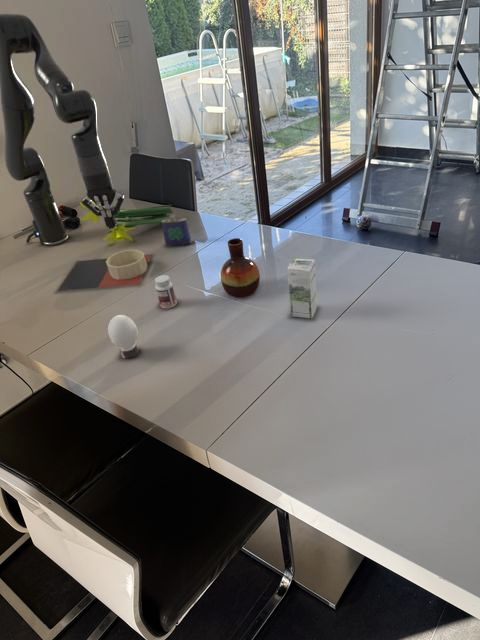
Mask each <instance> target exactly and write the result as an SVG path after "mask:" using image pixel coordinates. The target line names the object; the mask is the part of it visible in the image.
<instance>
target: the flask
mask: <svg viewBox="0 0 480 640" xmlns="http://www.w3.org/2000/svg"><path fill="white" fill-rule="evenodd" d="M170 218H171V219H168V220H167V219H165V220H162V221H161V223H160V225H161V228H162V233H163V237H164V238H163V239H164V242H165V245H166V247H167V248H169V247H183V246H188V245H189V246H190V245H192V242H193V240H192V237H191V231H190V228H189V222H188V219H187V218H186V217H184V218H183V217H182V218H176V214H172V215H170Z"/></svg>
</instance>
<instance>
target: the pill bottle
mask: <svg viewBox="0 0 480 640" xmlns="http://www.w3.org/2000/svg"><path fill="white" fill-rule="evenodd" d="M154 283H155V291H156V295H157V297H158V302H159V305H160V307H161V308H162V309H171V308H173V307H176V305H177V304H178V302H177V297H176V294H175V289H174V286H173V283H172V282H171V279H170V276H169V275H166V274H162V275H159V276H157V277H155V278H154Z"/></svg>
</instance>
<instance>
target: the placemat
mask: <svg viewBox="0 0 480 640" xmlns="http://www.w3.org/2000/svg"><path fill="white" fill-rule="evenodd" d="M144 256H145V259H146V263H147V265H148V263H149V261H150V259H151V257H152V254H144ZM107 259H108V258H99V259H89V260H80V261H79V260H78V261H77V262H76V263H75V264H74V266H73V267H72V269H71V270H70V272H69V273H68V275H66V278H65V279H64V281H63V282H62V284H61V285H60V286H59V288H58V290H57V292H64V291H75V290H77V291H78V290H86V289H87V290H88V289H99V288H110V287H118V286H119V287H120V286H122V287H123V286H133V285H134V286H135V285H139V284H140V282H141V281H142V278H143V276H144V273H143V274H141V275H139V276H137V277H134V278H131V279H125V280H119V279H114V278H113V277H111V275H110V273H109V270H108V267H107V264H106V261H107Z"/></svg>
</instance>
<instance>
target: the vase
mask: <svg viewBox="0 0 480 640" xmlns="http://www.w3.org/2000/svg"><path fill="white" fill-rule="evenodd" d="M227 247H228V251H229V255H230V256H229V257H230V258H229V259H227V260H226V261H225V262H224V264H223V265H222V266H221V270H220V274H219V275H220V283H221V286H222V288H223V289H224V291H225V292H226V293H227V294H228V295H229V296H230V297H233V298H237V299H242V298H243V299H244V298H247V297H250V296H252V295H253V294H254V293H256V291H257V290H258V288H259V286H260V282H261V281H260V280H261V274H260V269H259V267H258V265H257V264H256V262H254V260H253V259H251V258H249V257H247V256H245V253H244V241H243V239H242V238H239V237H238V238H237V237H234V238H231V239H229V240H228V241H227Z"/></svg>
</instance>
